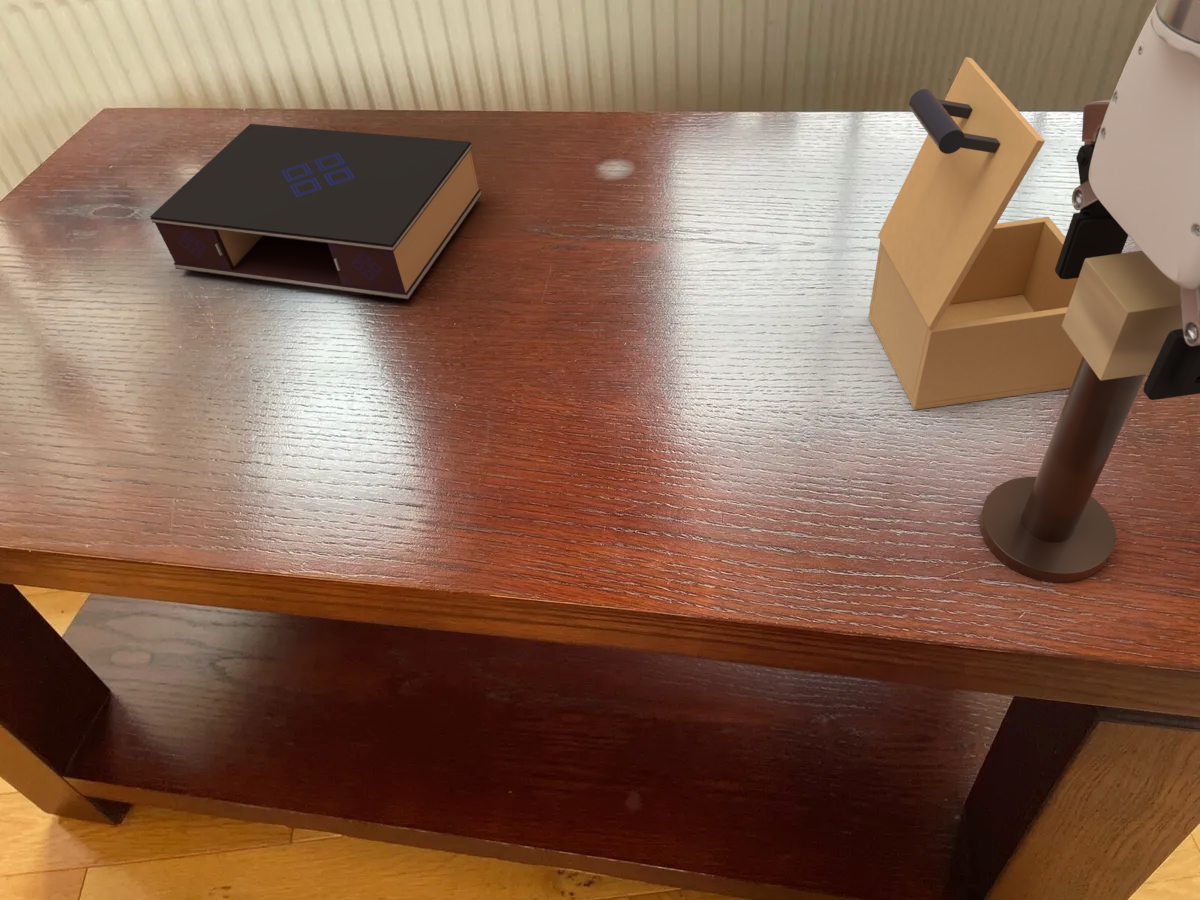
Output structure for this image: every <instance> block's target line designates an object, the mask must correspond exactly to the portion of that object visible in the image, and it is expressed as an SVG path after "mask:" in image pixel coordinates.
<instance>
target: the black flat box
mask: <svg viewBox="0 0 1200 900" xmlns="http://www.w3.org/2000/svg"><path fill="white" fill-rule="evenodd" d="M472 148H473V146H472V143H471V141H468V140H467V141H466V140H454V139H442V138H431V137H430V138H429V137H420V136H419V137H418V136H406V135H394V134H382V133H381V134H380V133H368V132H357V131H347V130H346V131H343V130H332V129H319V128H310V127H309V128H307V127H296V126H283V125H270V124H260V123H249V124H248V125H247V126H246V127H245V128H244V129H243V130H242V131H241V132H239V134H237V135H236V136H235V137H234V138H233V139H232V140H231V141H230V142H229V143H227V144H226V145H225V146H224V147H223V148H222V149H221V150H220V151H219V152H218V153H217V154H216V155H215V156H213V157H212V158H211V160H209V161H208V162H207V163H206V164H205V165H204V166H203V167H202V168H201V169H199V170H198V171H197V172H196V173H195V174H194V175H193V176H192V177H191V178H190V179H189V180H188V181H186V183H184V185H182V186H181V187H180V188H179V189H178V190H177V191H175V193H174V194H172V196H170V197H169V198H168V199H167V200H166V201H165V202H164V203H163V204H162V205H161V206H159V207H158V208H157V209H156V210H155V211H154V212H153V213H151V215H150V216H149V220H151V223H152V224H155V226H156V228H157V230H158V232H159V234H160V236H161V238H162V240H163V242H164V244H165V245H166V248H167V249H168V251H169V254H170V255H171V258H172V260H173V261H174V262H173V265H174V267H175V269H176V270H184V271H189V272H190V271H191V272H198V273H206V274H212V275H213V274H214V275H220V276H228V277H236V278H242V279H243V278H244V279H250V280H258V281H265V282H274V283H281V284H289V285H295V286H302V287H310V288H318V289H324V290H333V291H341V292H349V293H356V294H364V295H371V296H377V297H385V298H392V299H399V300H410V298H411V296H412V295H413V293H414V292H415V291H416V289H417V288H418V286H419V285H420V283H422V281H423V280H424V278H425V276H426V275H427V273H428V272H429V270H430V269H431V268H432V267H433V265H434V264H435V262H436V261H437V259H438V258H439V257H440V255H441V254H442V253H443V251H444V249H445V248H446V246H447V245H448V244H449V242H450V241H451V239H452V238H453V236H454V235H455V233H456V232H457V231H458V229H459V228H460V226H461V225H462V223H463V222H464V221H465V219H466V218H467V216H468V215H469V213H470V212H471V211H472V209H473V208H474V206H476V204H477V202H478V201H479V199H480V197H481V196H482V189H479V185H478V179H477V173H476V171H475V165H474V161H473V155H472V151H471V149H472Z"/></svg>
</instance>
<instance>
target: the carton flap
mask: <svg viewBox="0 0 1200 900" xmlns="http://www.w3.org/2000/svg"><path fill="white" fill-rule="evenodd" d="M908 107H909V109H910V111H911V112H912V113H913V115H914V117H915V118H916V119H917V121H918V122H919V123H920V125H921V127H923V129H924V130H925V132H926V134H927V135H926V137H925V138H924V141H923V143H922V145H921V147H920V149H919V151H918V153H917V155H916V157H915V159H914V161H913V163H912V165H911V167H910V170H909V172H908V173H907V175H906V177H905V179H904V182H903V184H902V186H901V188H900V190H899V191H898V194H897V195H896V198H895V200H894V202H893V203H892V206H891V208H890V209H889V212H888V215H887V217H886V218H885V220H884V223H883V225H882V227H881V228H880V230H879V232H878V235H877V237H878V239H879V242H880V241H881V242H882V244H883V246H884V248H885V250H886V251H887V253H888V255H889V257H890V259H891V260H892V262H893V264H894V266H895V268H896V269H897V271H898V273H899V275H900V277H901V278H902V280H903V282H904V284H905V286H906V287H907V289H908V291H909V293H910V295H911V296H912V298H913V300H914V302H915V304H916V305H917V307H918V309H919V311H920V313H921V314H922V316H923V318H924V320H925V322H926V323H927V325H928V327H929V328H936V326H937V324H938V322H939V321H940V319H941V317H942V316H943V314H944V312H945V311H946V309H947V307H948V305H949V304H950V302H951V300H952V299H953V297H954V295H955V294H956V292H957V290H958V288H959V287H960V285H961V283H962V282H963V280H964V278H965V277H966V275H967V273H968V271H969V270H970V268H971V266H972V265H973V263H974V261H975V260H976V258H977V256H978V254H979V253H980V251H981V249H982V248H983V246H984V244H985V243H986V241H987V239H988V237H989V236H990V234H991V232H992V231H993V229H994V227H995V226H996V224H998V222H999V221H1000V219H1001V217H1002V215H1003V214H1004V212H1005V211H1006V209H1007V207H1008V206H1009V203H1010V202H1011V200H1012V198H1013V197H1014V195H1015V193H1016V192H1017V190H1018V189H1019V186H1020V185H1021V183H1022V181H1023V180H1024V178H1025V177H1026V175H1027V172H1029V169H1030V168H1031V166H1032V164H1033V163H1034V161H1035V159H1036V158H1037V156H1038V155H1039V153H1040V151H1041V149H1042V147H1043V146H1044V144H1045V142H1046V141H1045V139H1044V138H1043V137H1042V136H1041V135H1040V134H1039V133H1038V131H1037V130H1036V129H1035V128H1034V127H1033V126H1032V125H1031V124H1030V122H1029V121H1028V120H1027V119H1026V118H1025V116H1024V115H1023V114H1022V113H1021V112H1020V111H1019V110H1018V109H1017V107H1015V105H1014V104H1013V103H1012V102H1011V101H1010V100H1009V98H1008V97H1006V95H1005V94H1004V92H1002V91H1001V89H1000V88H999V87H998V86H997V85H996V84H995V82H994V81H992V79H991V78H990V77H989V76H988V74H987V73H986V72H985V71H984V70H983V69H982V68H981V67H980V65H978V63H977V62H976V61H975V60H974V58H972V57H967V56H965V57H964V59H963V62H962V64H961V66H960V67H959V70H958V72H957V73H956V76H955V78H954V80H953V82H952V84H951V86H950V88H949V90H948V92H947V94H946V96H945V98H944V99H939V98H937V97H936V95H935V94H934V93H933V92H932V91H931V90H930V89H929V88H922V89H919V90H917V91H915V92H914V93H913V94H912V95H911V97H910V98H909V101H908Z"/></svg>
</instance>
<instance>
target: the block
mask: <svg viewBox="0 0 1200 900" xmlns="http://www.w3.org/2000/svg"><path fill="white" fill-rule="evenodd" d="M1062 327H1063V329H1064V330H1065V332H1066V333H1067V334H1068V336H1069V337H1070V339H1071V340H1072V341H1073V343H1074V344H1075V346H1076V347H1077V348H1078V350H1079V351H1080V353H1081V354H1082V355H1083V357H1084V358H1085V360H1086V361H1087V362H1088V364H1089V365H1090V367H1091V368H1092V369H1093V371H1094V372H1095V374H1096V375H1097V377H1098V378H1099V379H1100V380H1108V379H1115V378H1122V377H1129V376H1136V375H1144V374H1146V375H1149V374H1150V372H1151V369H1152V367H1153V365H1154V363H1155V361H1156V359H1157V357H1158V355H1159V352H1160V350H1161V348H1162V346H1163V344H1164V342H1165V340H1166V337H1167V335H1168V334H1169V333H1170V331H1173V330H1177V329H1182V315H1181V299H1180V285H1178V284H1176V283H1175V282H1173V281H1172V280H1171V279H1169V278H1168V277H1167V276H1166V275H1165V274H1163V273H1162V272H1161V271H1160V270H1159V269H1158V268H1157V267H1156V265H1155V264H1154V263H1153V262H1152V261H1151V260H1150V259H1149V258H1148V257H1147V256H1146V254H1145V253H1144V252H1143V251H1142V250H1135V251H1129V252H1122V253H1120V254H1113V255H1106V256H1099V257H1091V258H1086V259H1085V260H1084V263H1083V266H1082V269H1081V272H1080V275H1079V278H1078V280H1077V283H1076V286H1075V289H1074V292H1073V295H1072V298H1071V300H1070V303H1069V306H1068V309H1067V312H1066V315H1065V318H1064V320H1063V323H1062Z"/></svg>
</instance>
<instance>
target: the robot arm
mask: <svg viewBox="0 0 1200 900" xmlns="http://www.w3.org/2000/svg"><path fill="white" fill-rule="evenodd" d="M1081 128H1082V131H1081V142H1082V143H1083V145H1081V146H1080V147H1079V149H1078V150H1077V155H1076V157H1075V158H1076V162H1077V169H1078V177H1079V185H1078V186H1077V187H1075V188H1074V189H1073V191H1072V193H1071V204H1072V207H1073V208H1074V209H1075V210H1076V211H1079V212H1075V213H1073V214H1072V216H1071V220H1070V222H1069V226H1068V229H1067V232H1066V235H1065V237H1066V238H1065V241H1064V244H1063V247H1062V250H1061V253H1060V256H1059V259H1058V262H1057V265H1056V268H1055V272H1056V274H1057V275H1058V276H1059V278H1060V279H1073V278H1079V275H1080V272H1081V269H1082V266H1083V263H1084V260H1085V259H1086V258H1091V257H1099V256H1106V255H1113V254H1120V253H1123V250H1124V248H1125V245H1126V243H1127V240H1128V237H1129V238H1130V239H1131V240H1132V241H1133V242H1134V243H1135V244H1136V246H1137V247H1138V248H1139V249H1140V251H1143V252H1144V253H1145V254H1146V256H1147V257H1148V258H1149V259H1150V260H1151V261H1152V262H1153V263H1154V264H1155V265H1156V267H1157V268H1158V269H1159V270H1160V271H1161V272H1162V273H1163V274H1165V275H1166V276H1167V277H1168V278H1169V279H1171V280H1172V281H1173V282H1175V283H1176V284H1178V285H1180V299H1181V315H1182V329H1177V330H1173V331H1170V333H1169V334H1168V335H1167V337H1166V340H1165V342H1164V344H1163V346H1162V348H1161V350H1160V352H1159V355H1158V357H1157V359H1156V361H1155V363H1154V365H1153V367H1152V369H1151V372H1150V374H1148V376H1147V378H1146V380H1145V383H1144V384H1143V389H1142V390H1143V393H1144V394H1145V395H1146V397H1147V398H1148V399H1149V400H1150V401H1156V400H1164V399H1172V398H1178V397H1185V396H1192V395H1193V396H1194V395H1198V394H1200V0H1156V2H1155V4H1154V5H1153V8H1152V10H1151V11H1150V13H1149V15H1148V16H1147V19H1146V20H1145V23H1144V24H1143V27H1142V29H1141V30H1140V33H1139V34H1138V37H1137V39H1136V41H1135V43H1134V45H1133V47H1132V49H1131V52H1130V54H1129V56H1128V58H1127V60H1126V63H1125V65H1124V67H1123V69H1122V72H1121V74H1120V77H1119V80H1118V81H1117V83H1116V86H1115V89H1114V91H1113V94H1112V96H1111V99H1103V100H1097V101H1096V100H1095V101H1089V102H1087V103H1085V105H1084V107H1083V112H1082V127H1081Z"/></svg>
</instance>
